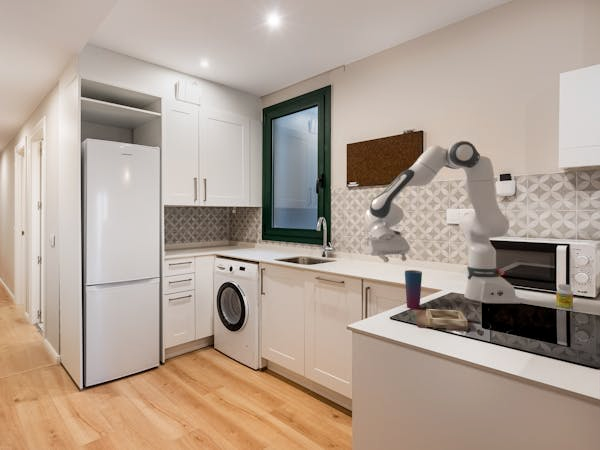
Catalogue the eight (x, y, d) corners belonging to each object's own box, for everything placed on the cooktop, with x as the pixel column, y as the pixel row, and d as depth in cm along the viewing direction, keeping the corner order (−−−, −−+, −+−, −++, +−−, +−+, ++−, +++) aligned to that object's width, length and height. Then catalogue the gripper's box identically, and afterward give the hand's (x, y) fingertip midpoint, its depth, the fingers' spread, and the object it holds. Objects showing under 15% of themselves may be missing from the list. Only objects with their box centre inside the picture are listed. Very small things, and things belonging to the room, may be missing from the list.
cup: (408, 304, 150) (408, 269, 150) (424, 306, 146) (424, 271, 145) (401, 307, 145) (402, 271, 144) (418, 310, 141) (418, 273, 140)
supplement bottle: (571, 307, 143) (572, 284, 142) (574, 311, 138) (574, 287, 138) (555, 306, 145) (555, 283, 145) (557, 309, 141) (557, 285, 140)
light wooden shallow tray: (457, 314, 135) (458, 307, 135) (468, 330, 117) (468, 321, 117) (414, 312, 139) (414, 304, 139) (417, 327, 121) (417, 318, 121)
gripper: (366, 233, 159) (378, 257, 150) (404, 232, 166) (417, 255, 157) (361, 242, 163) (372, 266, 154) (398, 240, 170) (411, 263, 162)
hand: (395, 260), depth 156 cm, fingers open, 8 cm apart
